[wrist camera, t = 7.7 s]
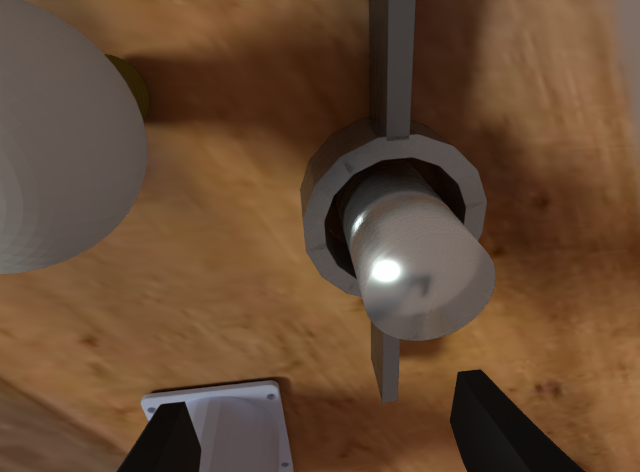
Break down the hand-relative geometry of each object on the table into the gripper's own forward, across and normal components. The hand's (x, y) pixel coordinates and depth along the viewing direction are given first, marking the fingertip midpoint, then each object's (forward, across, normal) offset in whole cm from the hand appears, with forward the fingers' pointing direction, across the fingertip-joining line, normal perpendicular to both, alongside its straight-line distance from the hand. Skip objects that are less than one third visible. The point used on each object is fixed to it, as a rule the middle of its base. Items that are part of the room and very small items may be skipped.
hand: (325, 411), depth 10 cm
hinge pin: (+9, -4, -2) cm, 10 cm away
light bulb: (+10, +7, -7) cm, 14 cm away
